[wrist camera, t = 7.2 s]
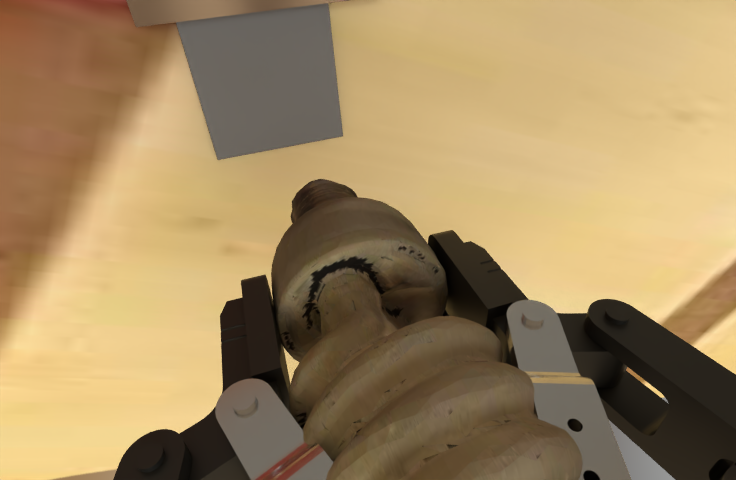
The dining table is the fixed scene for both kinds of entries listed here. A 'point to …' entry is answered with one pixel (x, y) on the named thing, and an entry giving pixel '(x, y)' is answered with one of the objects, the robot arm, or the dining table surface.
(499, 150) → the dining table surface
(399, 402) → the tan ridged rounded piece
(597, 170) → the dining table surface
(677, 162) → the dining table surface
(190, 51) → the mat
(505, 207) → the dining table surface
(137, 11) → the socket block
